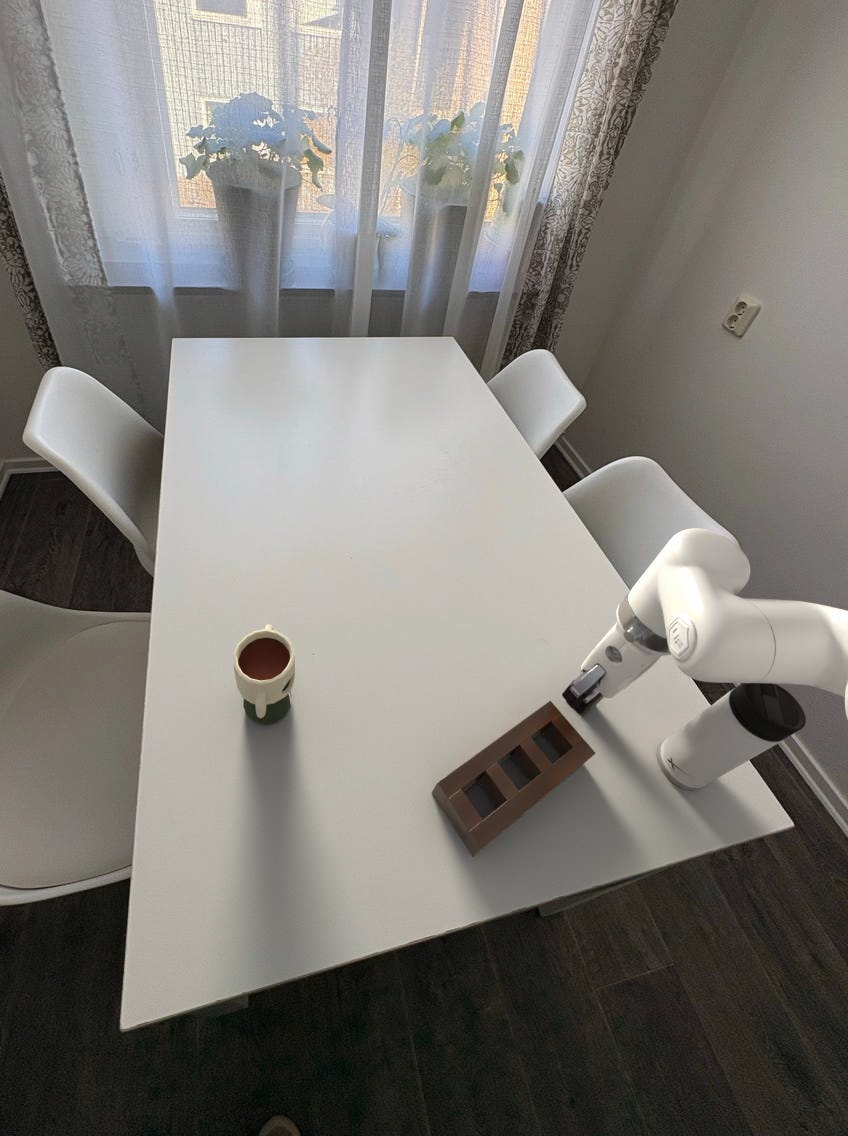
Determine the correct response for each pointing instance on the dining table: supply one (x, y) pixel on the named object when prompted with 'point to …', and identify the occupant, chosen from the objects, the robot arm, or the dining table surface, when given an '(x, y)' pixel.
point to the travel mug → (730, 734)
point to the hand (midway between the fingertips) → (593, 687)
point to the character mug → (265, 674)
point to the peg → (596, 698)
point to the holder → (501, 786)
